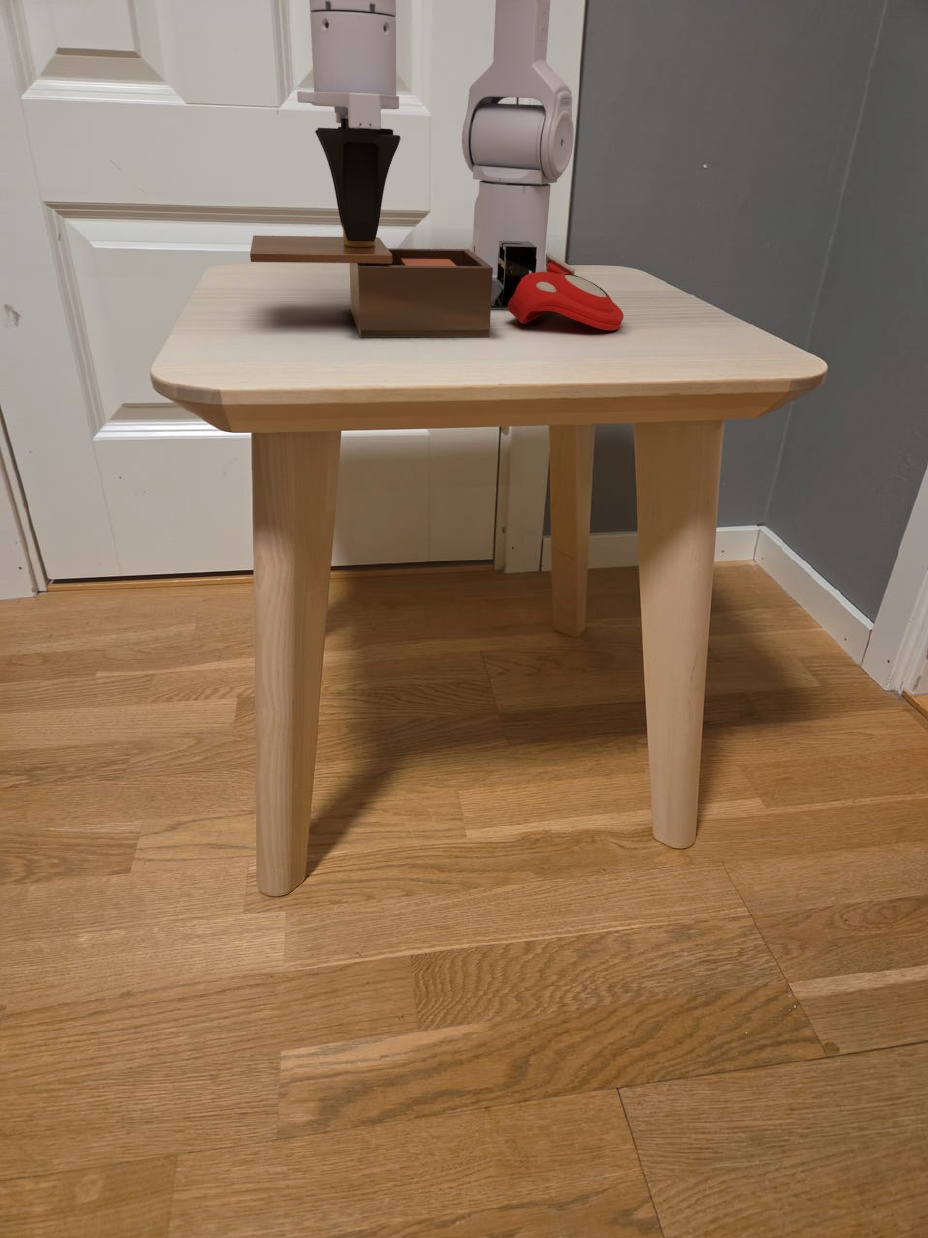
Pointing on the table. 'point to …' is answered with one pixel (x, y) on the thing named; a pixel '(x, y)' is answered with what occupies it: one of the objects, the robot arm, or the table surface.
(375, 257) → the slide lid
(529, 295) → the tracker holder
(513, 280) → the black rack
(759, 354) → the table surface
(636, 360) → the table surface
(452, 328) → the walnut box
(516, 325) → the table surface
